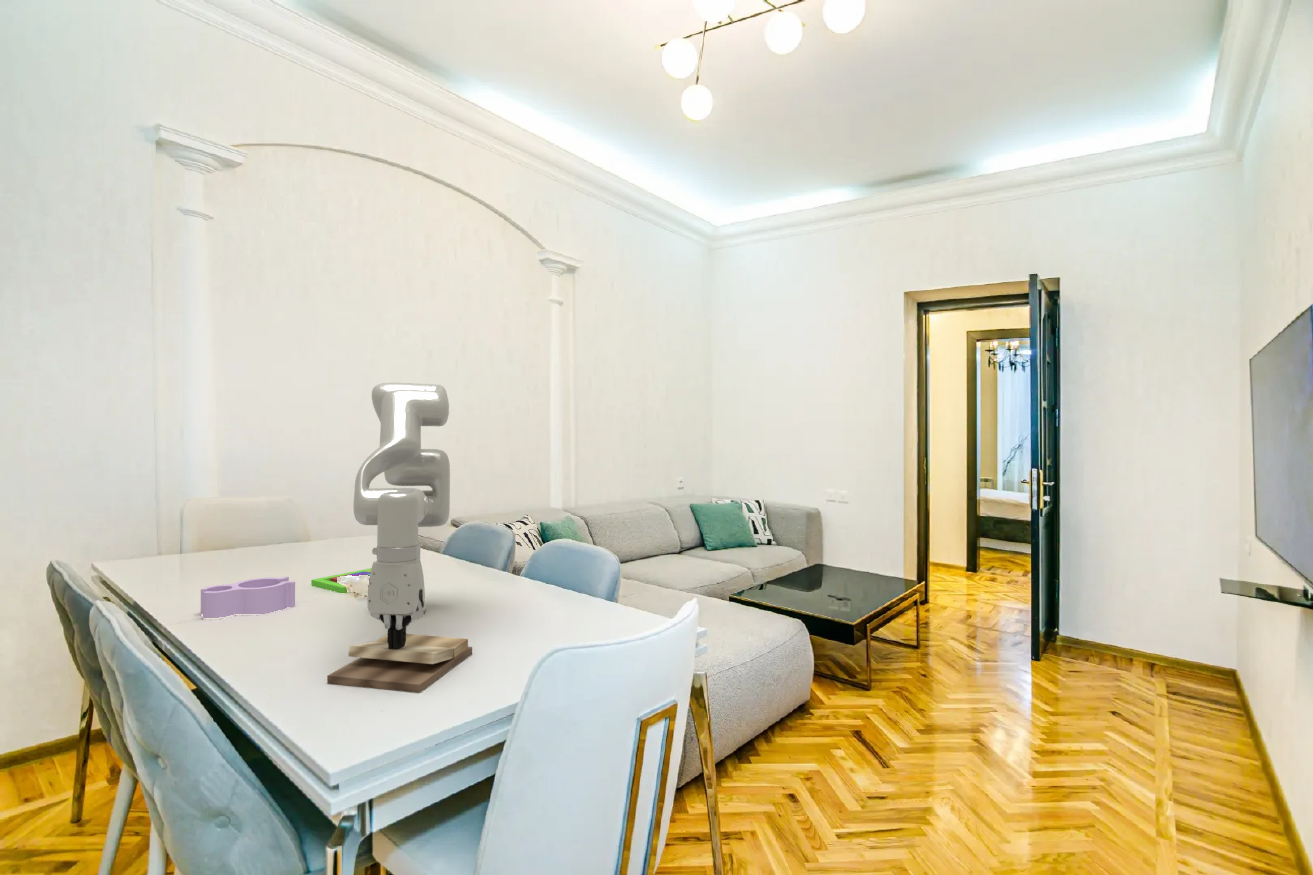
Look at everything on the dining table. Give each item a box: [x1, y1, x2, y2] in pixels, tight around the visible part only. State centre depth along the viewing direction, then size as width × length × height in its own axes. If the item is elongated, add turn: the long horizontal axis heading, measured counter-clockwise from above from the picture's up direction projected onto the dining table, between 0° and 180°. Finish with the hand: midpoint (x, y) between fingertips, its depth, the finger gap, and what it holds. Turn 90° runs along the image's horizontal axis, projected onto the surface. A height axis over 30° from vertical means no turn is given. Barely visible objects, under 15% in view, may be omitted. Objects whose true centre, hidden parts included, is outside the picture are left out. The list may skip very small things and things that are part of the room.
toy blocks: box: [310, 567, 372, 594], centre depth 199 cm, size 23×2×25 cm
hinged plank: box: [348, 640, 454, 664], centre depth 131 cm, size 18×8×2 cm, turn 80°
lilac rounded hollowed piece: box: [200, 576, 296, 619], centre depth 169 cm, size 20×12×7 cm, turn 132°
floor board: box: [326, 633, 473, 694], centre depth 132 cm, size 19×21×4 cm
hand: (396, 647), depth 129 cm, fingers closed
